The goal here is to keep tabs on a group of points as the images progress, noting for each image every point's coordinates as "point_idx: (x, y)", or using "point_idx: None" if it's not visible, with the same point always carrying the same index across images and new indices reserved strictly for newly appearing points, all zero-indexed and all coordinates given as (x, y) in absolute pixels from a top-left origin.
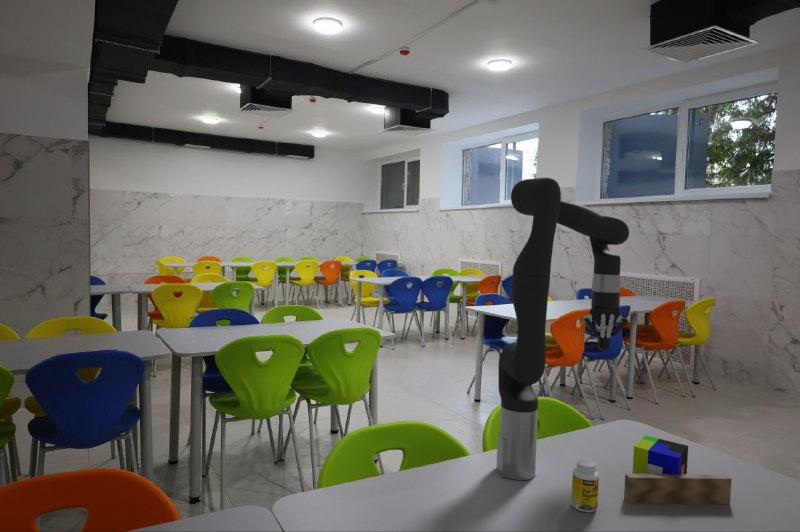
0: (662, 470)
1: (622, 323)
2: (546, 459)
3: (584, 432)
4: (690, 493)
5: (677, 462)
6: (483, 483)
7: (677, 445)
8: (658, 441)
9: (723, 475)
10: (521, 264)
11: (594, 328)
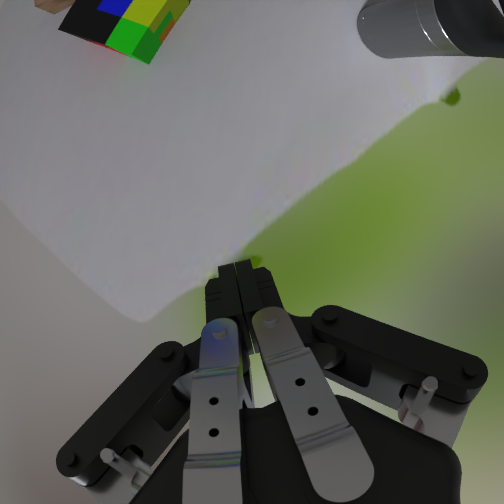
0: None
1: (96, 439)
2: (330, 84)
3: (228, 242)
4: None
5: None
6: None
7: (79, 20)
8: (113, 25)
9: (39, 1)
10: None
11: (366, 342)
